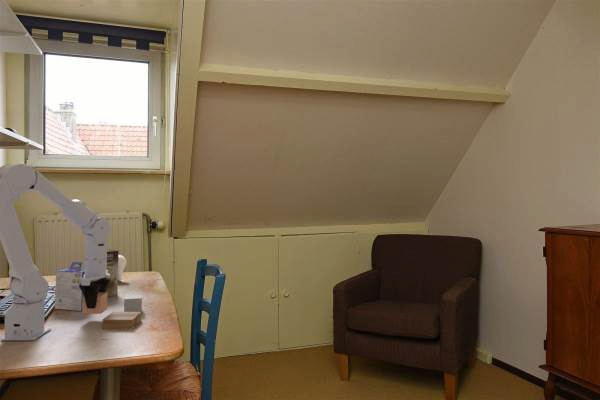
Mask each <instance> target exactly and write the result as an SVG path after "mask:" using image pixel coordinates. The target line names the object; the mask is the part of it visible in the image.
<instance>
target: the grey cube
mask: <svg viewBox="0 0 600 400" xmlns="http://www.w3.org/2000/svg"><path fill="white" fill-rule="evenodd" d="M142 306H143V295H142V294H131V295H130V294H129V295H124V299H123V312H141V315H142V314H143V313H142V312H143V307H142Z"/></svg>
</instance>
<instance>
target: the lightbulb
mask: <svg viewBox="0 0 600 400" xmlns="http://www.w3.org/2000/svg"><path fill="white" fill-rule="evenodd" d="M126 265H127V259H126V257H125V256H124V255H121V254H118V283H119V282H121V281H122V274H123V271H124V269H125V267H126Z"/></svg>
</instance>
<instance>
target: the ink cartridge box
mask: <svg viewBox="0 0 600 400" xmlns="http://www.w3.org/2000/svg"><path fill="white" fill-rule="evenodd" d="M74 265H75V266H74ZM76 265H78V266H76ZM82 266H83V262H79V261H78V262H77V261H72V263H71V265H70V267H69V268H65V269H64V268H63V269H59V270H56V271H55V291H54V292H55V293H54V309H55V310H65V311H78V312H81V311H82V312H83V296H84V295H83V293H82V291H81V289H80V288H79V284H80V283H82V278H83V277H84V274H85V269H82Z"/></svg>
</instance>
